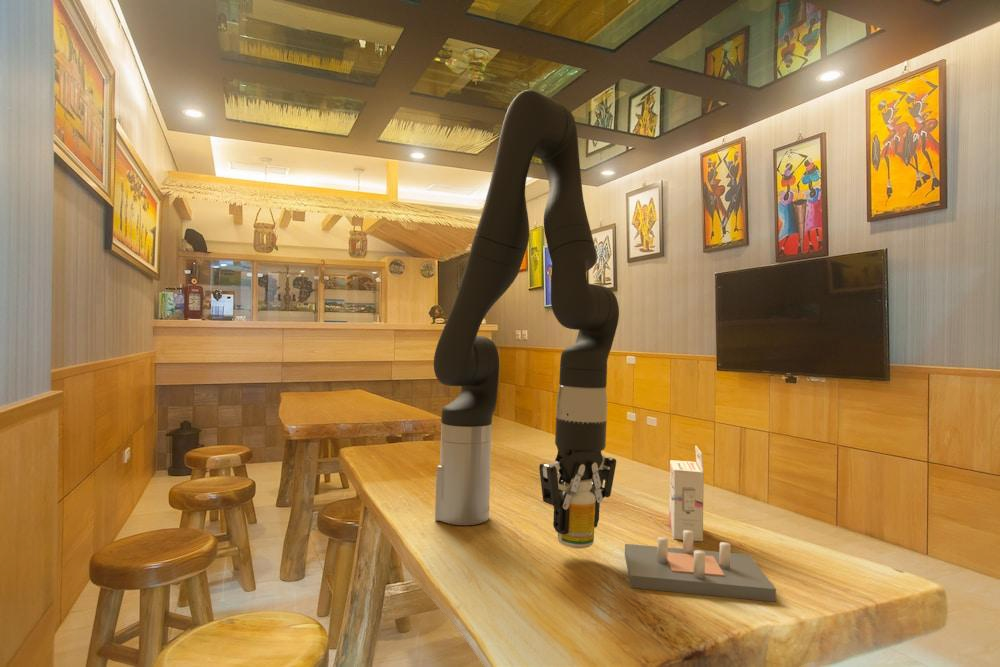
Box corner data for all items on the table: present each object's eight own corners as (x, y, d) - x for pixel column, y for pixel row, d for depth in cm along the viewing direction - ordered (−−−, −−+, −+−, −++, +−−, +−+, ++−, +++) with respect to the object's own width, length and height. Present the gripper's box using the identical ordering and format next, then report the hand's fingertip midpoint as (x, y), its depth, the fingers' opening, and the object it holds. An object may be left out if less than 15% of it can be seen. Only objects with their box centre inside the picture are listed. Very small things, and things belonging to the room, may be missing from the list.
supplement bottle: (551, 537, 84) (554, 474, 84) (582, 534, 85) (585, 473, 86) (567, 551, 79) (570, 483, 79) (600, 547, 80) (603, 482, 80)
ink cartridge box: (667, 523, 100) (669, 443, 101) (695, 526, 99) (697, 444, 100) (672, 539, 92) (674, 451, 92) (703, 542, 91) (705, 453, 91)
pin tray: (630, 587, 73) (631, 551, 73) (624, 554, 84) (625, 522, 85) (775, 601, 70) (776, 563, 70) (748, 565, 82) (749, 532, 82)
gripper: (562, 422, 75) (557, 546, 75) (632, 417, 83) (628, 529, 83) (528, 415, 81) (523, 529, 81) (597, 411, 89) (592, 515, 89)
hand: (576, 528), depth 82 cm, fingers closed on supplement bottle, 5 cm apart
